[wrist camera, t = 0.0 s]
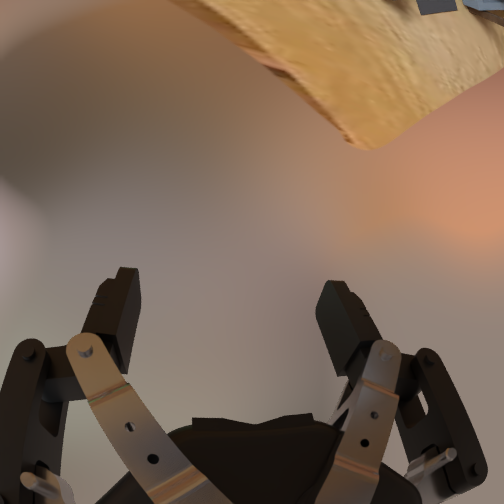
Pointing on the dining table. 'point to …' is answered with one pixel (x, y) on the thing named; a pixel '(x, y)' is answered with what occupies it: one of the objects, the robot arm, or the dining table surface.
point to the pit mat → (436, 6)
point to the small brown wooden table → (487, 16)
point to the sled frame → (485, 4)
